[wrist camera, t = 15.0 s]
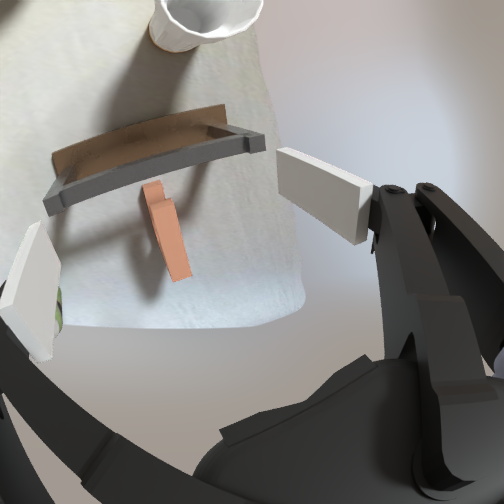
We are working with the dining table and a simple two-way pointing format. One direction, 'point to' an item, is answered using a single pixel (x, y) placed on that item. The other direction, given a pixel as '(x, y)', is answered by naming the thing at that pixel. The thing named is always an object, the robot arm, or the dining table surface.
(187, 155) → the stand
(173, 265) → the c link
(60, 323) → the beverage can
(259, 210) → the dining table surface
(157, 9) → the cup
